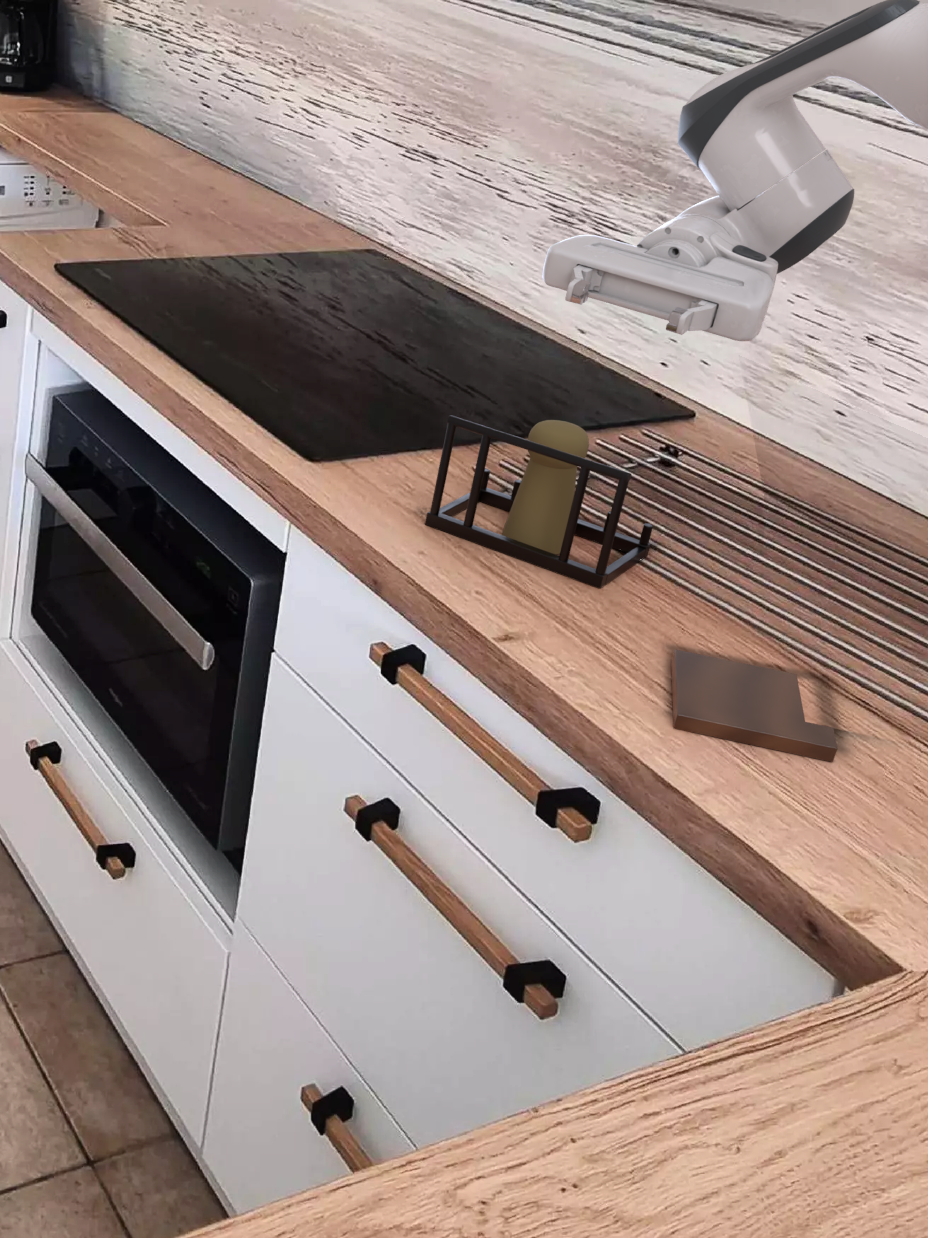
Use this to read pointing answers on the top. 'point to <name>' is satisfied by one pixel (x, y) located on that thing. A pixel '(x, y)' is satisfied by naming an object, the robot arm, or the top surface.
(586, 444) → the cork
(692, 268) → the robot arm
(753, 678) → the walnut board
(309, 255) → the top surface
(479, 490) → the dish rack
